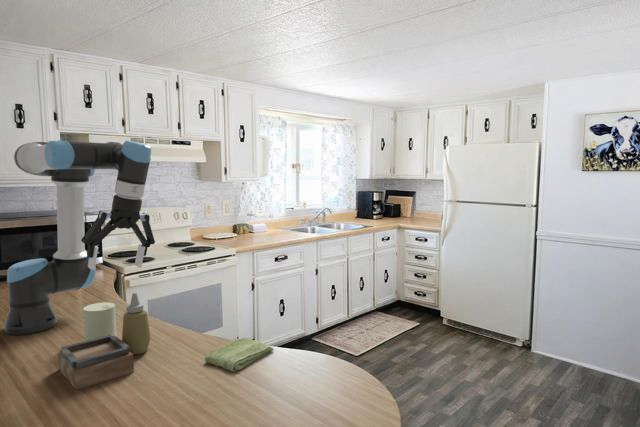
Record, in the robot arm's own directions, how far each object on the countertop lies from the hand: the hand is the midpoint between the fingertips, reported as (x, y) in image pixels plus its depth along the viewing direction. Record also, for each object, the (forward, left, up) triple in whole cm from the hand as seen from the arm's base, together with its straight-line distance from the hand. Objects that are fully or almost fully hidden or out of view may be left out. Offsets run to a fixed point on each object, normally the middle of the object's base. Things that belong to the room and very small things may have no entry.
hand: (115, 267), depth 123 cm
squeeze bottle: (+1, +5, -27) cm, 27 cm away
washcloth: (+26, +25, -27) cm, 45 cm away
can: (-15, 0, -27) cm, 31 cm away
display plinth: (+6, -8, -27) cm, 28 cm away
